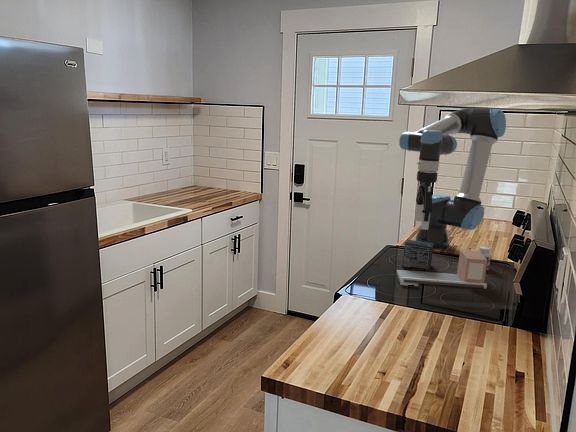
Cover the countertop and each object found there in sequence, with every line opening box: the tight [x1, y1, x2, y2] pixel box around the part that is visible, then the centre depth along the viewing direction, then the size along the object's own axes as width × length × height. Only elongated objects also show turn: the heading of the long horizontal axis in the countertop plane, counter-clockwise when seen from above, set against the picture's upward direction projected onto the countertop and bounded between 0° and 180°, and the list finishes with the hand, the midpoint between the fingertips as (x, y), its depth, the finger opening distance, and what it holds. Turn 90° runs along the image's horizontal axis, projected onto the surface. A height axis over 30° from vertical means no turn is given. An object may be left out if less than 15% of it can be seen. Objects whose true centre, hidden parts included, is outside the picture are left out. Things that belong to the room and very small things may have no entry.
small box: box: [401, 239, 434, 270], centre depth 193 cm, size 11×6×10 cm, turn 65°
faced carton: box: [456, 249, 487, 283], centre depth 178 cm, size 10×7×10 cm
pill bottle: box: [478, 246, 492, 271], centre depth 193 cm, size 5×5×10 cm
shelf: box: [395, 269, 488, 289], centre depth 179 cm, size 13×30×3 cm, turn 85°
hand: (421, 224), depth 190 cm, fingers open, 13 cm apart
